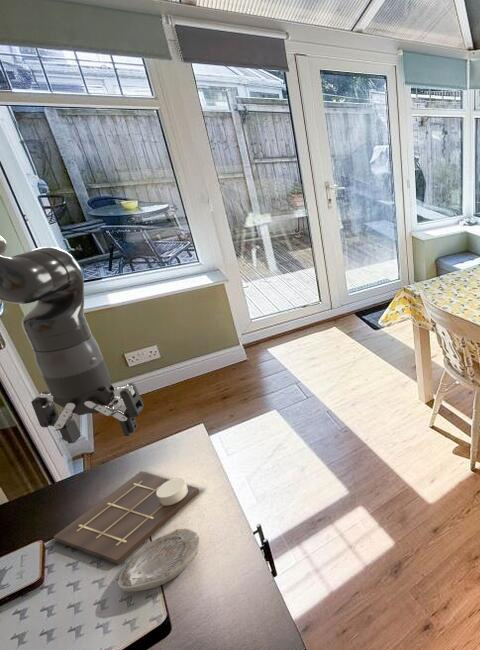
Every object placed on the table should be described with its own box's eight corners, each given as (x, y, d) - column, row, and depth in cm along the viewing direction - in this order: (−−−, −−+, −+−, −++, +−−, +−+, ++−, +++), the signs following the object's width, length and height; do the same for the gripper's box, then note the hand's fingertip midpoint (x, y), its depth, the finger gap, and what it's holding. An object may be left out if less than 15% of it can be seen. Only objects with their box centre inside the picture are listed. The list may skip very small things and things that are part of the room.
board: (55, 541, 78) (52, 536, 78) (142, 474, 93) (141, 470, 92) (119, 564, 75) (116, 559, 74) (199, 492, 89) (198, 487, 89)
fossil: (129, 561, 76) (123, 551, 75) (204, 529, 82) (200, 519, 81) (117, 613, 68) (110, 602, 67) (201, 573, 73) (196, 562, 72)
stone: (153, 502, 85) (150, 494, 84) (176, 483, 89) (173, 475, 88) (172, 508, 84) (168, 500, 83) (193, 488, 88) (190, 480, 87)
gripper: (134, 348, 76) (158, 417, 82) (36, 355, 72) (69, 428, 78) (110, 371, 69) (138, 445, 75) (1, 381, 65) (40, 458, 72)
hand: (103, 436), depth 77 cm, fingers open, 8 cm apart
